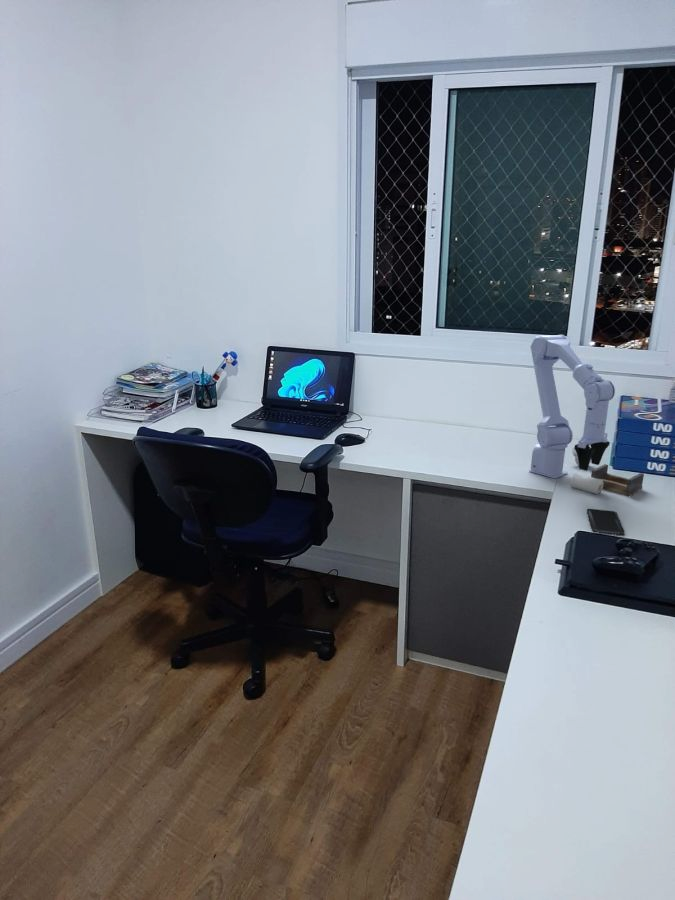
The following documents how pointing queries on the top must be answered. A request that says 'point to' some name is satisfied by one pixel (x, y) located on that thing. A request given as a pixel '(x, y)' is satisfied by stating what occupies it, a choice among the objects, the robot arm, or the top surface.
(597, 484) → the paper roll
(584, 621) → the top surface
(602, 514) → the phone
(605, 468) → the roll holder
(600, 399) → the robot arm
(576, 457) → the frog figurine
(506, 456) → the top surface
